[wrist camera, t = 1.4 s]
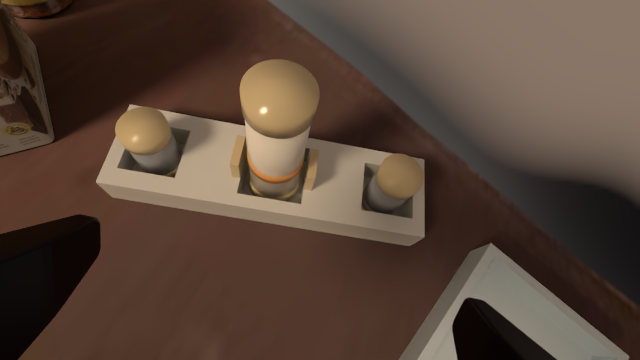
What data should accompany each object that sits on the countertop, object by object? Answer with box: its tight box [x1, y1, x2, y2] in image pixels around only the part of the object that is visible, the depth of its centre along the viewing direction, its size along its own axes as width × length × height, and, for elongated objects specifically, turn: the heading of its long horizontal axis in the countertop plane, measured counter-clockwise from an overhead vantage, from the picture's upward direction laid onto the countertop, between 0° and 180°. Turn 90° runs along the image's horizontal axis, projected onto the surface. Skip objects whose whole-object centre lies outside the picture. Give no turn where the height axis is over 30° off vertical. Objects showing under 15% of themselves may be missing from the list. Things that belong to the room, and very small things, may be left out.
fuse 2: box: [362, 153, 424, 215], centre depth 22 cm, size 3×3×4 cm
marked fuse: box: [240, 59, 320, 202], centre depth 19 cm, size 3×3×10 cm
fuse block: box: [96, 105, 425, 246], centre depth 22 cm, size 6×20×4 cm, turn 83°
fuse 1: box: [115, 107, 183, 178], centre depth 21 cm, size 3×3×4 cm
